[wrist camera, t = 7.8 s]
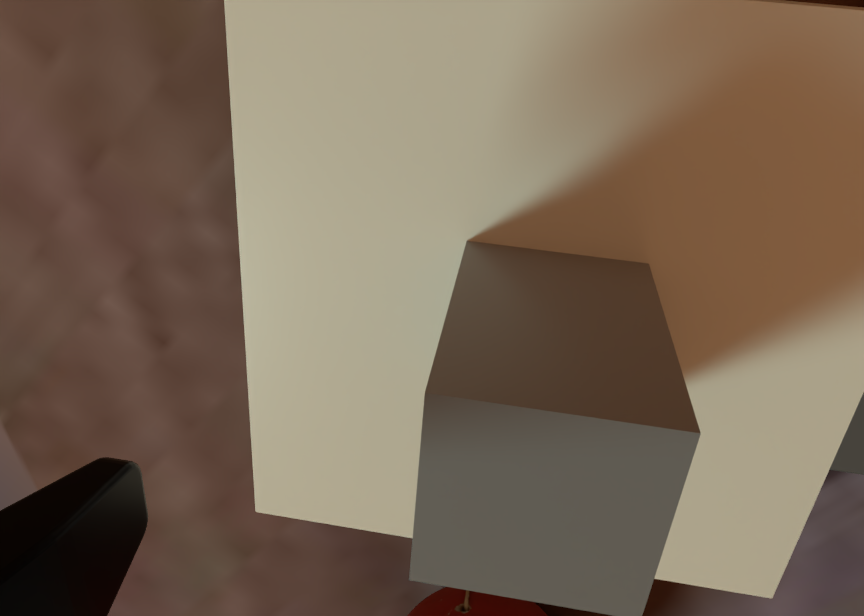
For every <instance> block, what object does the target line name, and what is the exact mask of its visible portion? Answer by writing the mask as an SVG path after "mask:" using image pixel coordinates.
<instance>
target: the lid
mask: <svg viewBox="0 0 864 616" xmlns="http://www.w3.org/2000/svg"><path fill="white" fill-rule="evenodd" d="M224 5H225V21H226V38H227V54H228V70H229V87H230V103H231V119H232V135H233V152H234V168H235V184H236V201H237V217H238V233H239V249H240V266H241V282H242V298H243V315H244V331H245V347H246V364H247V380H248V396H249V412H250V429H251V445H252V461H253V478H254V494H255V510H256V512H260V513H266V514H271V515H277V516H283V517H289V518H295V519H301V520H307V521H313V522H319V523H325V524H331V525H337V526H343V527H349V528H355V529H361V530H367V531H373V532H379V533H385V534H391V535H397V536H403V537H409V538H413V539H412V551H411V563H410V575H409V580H411V581H417V582H422V583H428V584H434V585H440V586H446V587H451V588H457V589H463V590H469V591H474V592H480V593H486V594H492V595H497V596H503V597H509V598H515V599H520V600H526V601H532V602H538V603H543V604H549V605H555V606H561V607H566V608H572V609H578V610H584V611H589V612H595V613H601V614H607V615H612V616H642V615H643V612H644V609H645V606H646V603H647V599H648V596H649V593H650V590H651V587H652V584H653V581H654V579H659V580H665V581H671V582H677V583H683V584H689V585H695V586H700V587H706V588H712V589H718V590H724V591H730V592H736V593H742V594H748V595H754V596H760V597H766V598H773V595H774V593H775V591H776V589H777V586H778V584H779V582H780V580H781V577H782V575H783V573H784V570H785V568H786V566H787V564H788V561H789V559H790V557H791V555H792V552H793V550H794V548H795V546H796V543H797V541H798V539H799V537H800V534H801V532H802V530H803V528H804V525H805V523H806V521H807V519H808V516H809V514H810V512H811V510H812V507H813V505H814V503H815V501H816V498H817V496H818V494H819V492H820V489H821V487H822V485H823V483H824V480H825V478H826V476H827V474H828V471H829V469H830V467H831V465H832V462H833V460H834V458H835V456H836V453H837V451H838V449H839V447H840V444H841V442H842V440H843V438H844V435H845V433H846V431H847V429H848V426H849V424H850V422H851V420H852V417H853V415H854V413H855V411H856V408H857V406H858V404H859V402H860V399H861V397H862V395H863V393H864V8H863V7H852V6H841V5H829V4H818V3H807V2H796V1H785V0H224Z"/></svg>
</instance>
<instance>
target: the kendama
mask: <svg viewBox="0 0 864 616" xmlns="http://www.w3.org/2000/svg"><path fill="white" fill-rule="evenodd" d="M408 616H548V615H547V614H546V613H545V612H544V611H543V610H542V609H541V608H540V607H539V606H538V605H537V604H536V603H534V602H532V601H526V600H520V599H515V598H509V597H503V596H497V595H492V594H486V593H480V592H474V591H469V590H463V589H457V588H451V587H446V588H442V589H441V590H439V591H437V592H435V593H433V594H431V595H430V596H429V597H427V598H426V599H424V600H423V601H422V602H420V603H419V604H418V605H417V606H416V607H415V608H414V609H413V610H412V611H411V612H410V613H409V614H408Z"/></svg>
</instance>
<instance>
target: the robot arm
mask: <svg viewBox="0 0 864 616" xmlns="http://www.w3.org/2000/svg"><path fill="white" fill-rule="evenodd" d="M147 522H148V511H147V504H146V498H145V492H144V486H143V480H142V473H141V470H140V467H139V466H138V465H137V464H136V463H134V462H133V461H127V460H121V459H115V458H109V457H105V458H99V459H97V460H95V461H93V462H91V463H89V464H87V465H85V466H83V467H81V468H80V469H78V470H76V471H74V472H72V473H70V474H68V475H66V476H64V477H63V478H61V479H59V480H57V481H55V482H53V483H51V484H49V485H48V486H46V487H44V488H42V489H40V490H38V491H36V492H34V493H33V494H31V495H29V496H27V497H25V498H23V499H21V500H19V501H17V502H16V503H14V504H12V505H10V506H8V507H6V508H4V509H2V510H1V511H0V616H107V615H108V613H109V611H110V608H111V606H112V604H113V602H114V600H115V597H116V595H117V593H118V591H119V589H120V586H121V584H122V582H123V580H124V578H125V576H126V573H127V571H128V569H129V567H130V565H131V562H132V560H133V558H134V556H135V554H136V551H137V549H138V547H139V545H140V543H141V540H142V538H143V536H144V533H145V530H146V527H147Z"/></svg>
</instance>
